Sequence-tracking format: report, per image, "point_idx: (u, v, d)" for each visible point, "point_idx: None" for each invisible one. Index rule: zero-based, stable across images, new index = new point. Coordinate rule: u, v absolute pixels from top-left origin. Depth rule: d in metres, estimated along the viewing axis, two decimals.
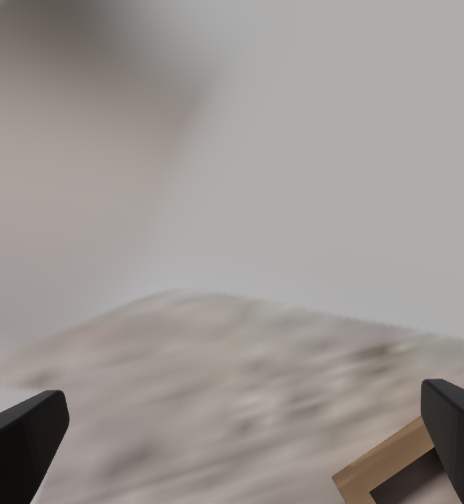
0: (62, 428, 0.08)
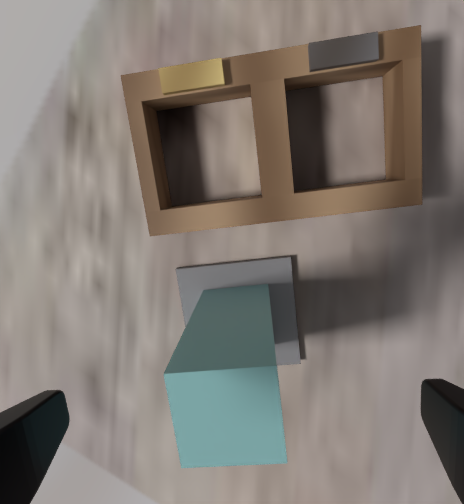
0: (62, 428, 0.08)
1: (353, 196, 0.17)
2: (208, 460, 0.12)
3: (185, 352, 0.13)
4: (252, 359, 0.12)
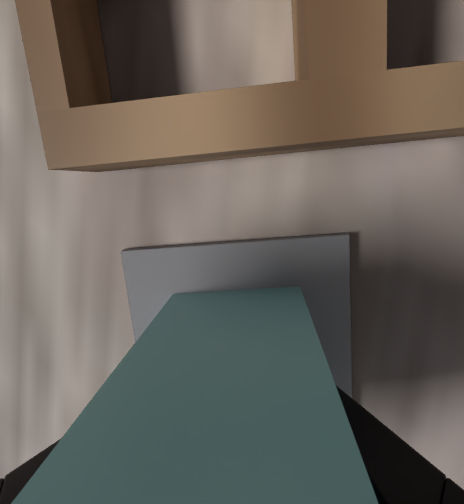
0: None
1: None
2: None
3: None
4: None
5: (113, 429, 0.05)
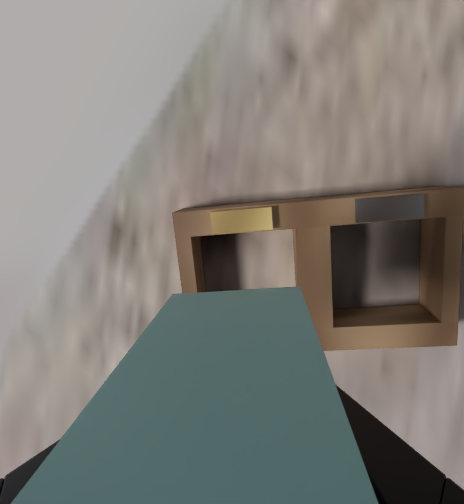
0: None
1: (390, 333, 0.17)
2: None
3: None
4: None
5: (112, 430, 0.05)
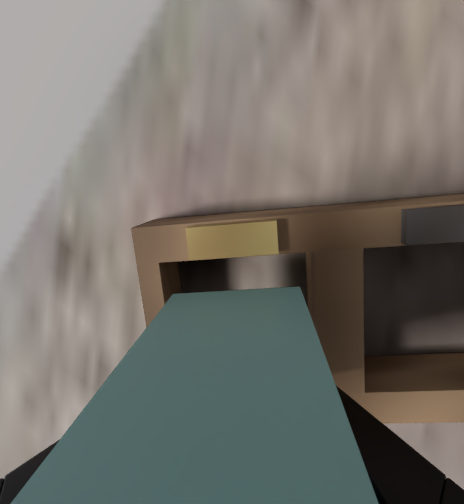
0: None
1: (448, 402, 0.12)
2: None
3: None
4: None
5: (112, 430, 0.05)
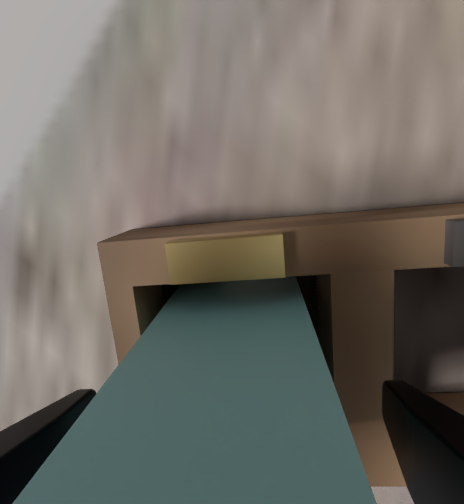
0: None
1: None
2: None
3: (83, 455, 0.04)
4: None
5: (141, 381, 0.06)
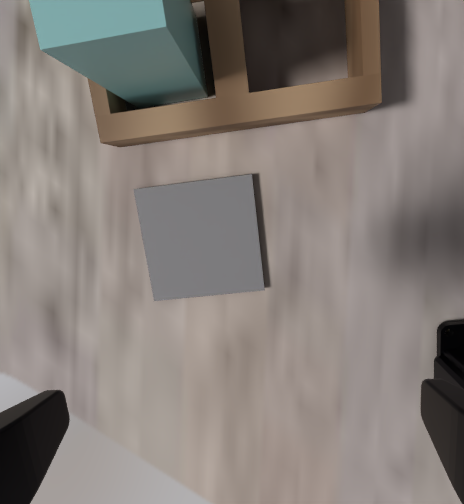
0: (62, 428, 0.08)
1: (310, 94, 0.16)
2: (71, 33, 0.10)
3: None
4: None
5: None
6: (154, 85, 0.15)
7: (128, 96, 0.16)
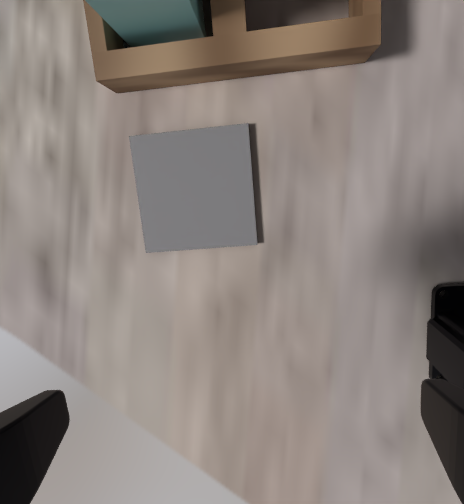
0: (62, 428, 0.08)
1: (308, 34, 0.16)
2: None
3: None
4: None
5: None
6: (150, 18, 0.15)
7: (125, 32, 0.16)
